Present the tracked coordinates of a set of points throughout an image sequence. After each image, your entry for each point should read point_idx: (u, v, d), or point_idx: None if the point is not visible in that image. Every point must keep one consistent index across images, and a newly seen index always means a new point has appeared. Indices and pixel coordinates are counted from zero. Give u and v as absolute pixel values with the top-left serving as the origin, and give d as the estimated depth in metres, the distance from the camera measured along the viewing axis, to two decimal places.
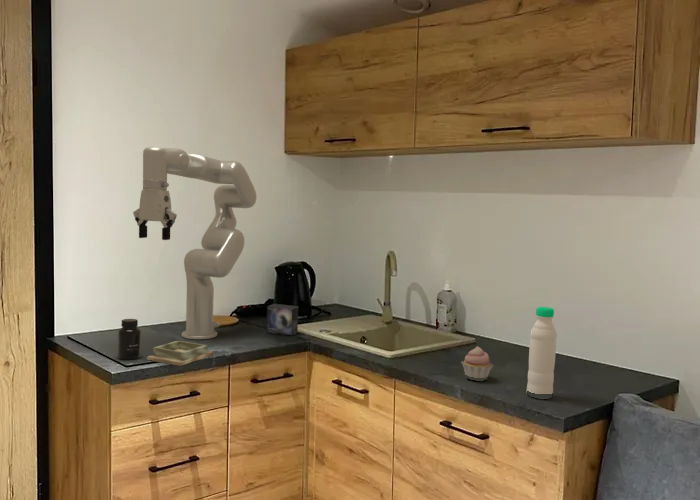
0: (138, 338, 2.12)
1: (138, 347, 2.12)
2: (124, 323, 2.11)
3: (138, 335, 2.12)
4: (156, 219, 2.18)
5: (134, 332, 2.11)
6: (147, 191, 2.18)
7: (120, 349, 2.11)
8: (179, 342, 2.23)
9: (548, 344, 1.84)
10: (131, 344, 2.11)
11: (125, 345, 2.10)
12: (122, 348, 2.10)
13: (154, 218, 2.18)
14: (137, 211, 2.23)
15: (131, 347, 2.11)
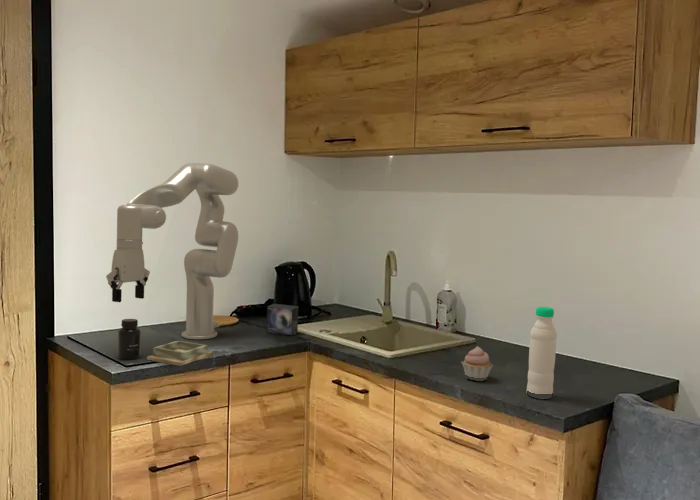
0: (138, 338, 2.12)
1: (138, 347, 2.12)
2: (124, 323, 2.11)
3: (138, 335, 2.12)
4: (139, 279, 2.13)
5: (134, 332, 2.11)
6: (133, 251, 2.09)
7: (120, 349, 2.11)
8: (179, 342, 2.23)
9: (548, 344, 1.84)
10: (131, 344, 2.11)
11: (125, 345, 2.10)
12: (122, 348, 2.10)
13: (138, 278, 2.12)
14: (113, 274, 2.05)
15: (131, 347, 2.11)
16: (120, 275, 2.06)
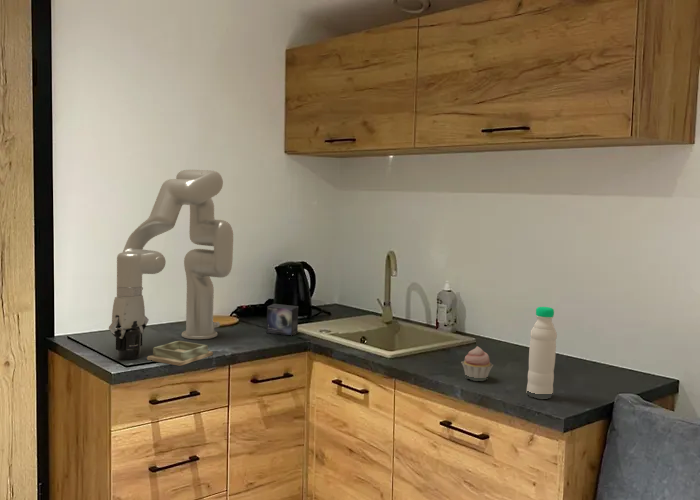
0: (138, 338, 2.12)
1: (138, 347, 2.12)
2: None
3: (138, 335, 2.12)
4: (140, 324, 2.14)
5: (134, 332, 2.11)
6: (133, 298, 2.10)
7: None
8: (179, 342, 2.23)
9: (548, 344, 1.84)
10: (131, 344, 2.11)
11: (125, 345, 2.10)
12: None
13: (138, 324, 2.14)
14: (115, 324, 2.07)
15: (131, 346, 2.11)
16: (121, 323, 2.08)
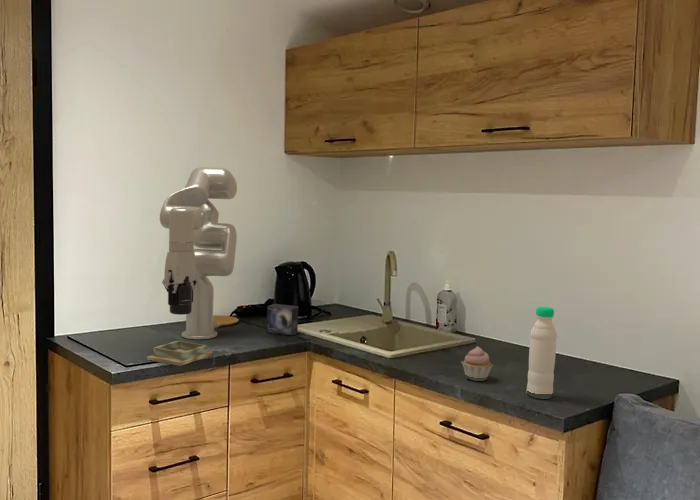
0: (190, 293, 2.13)
1: (189, 303, 2.14)
2: None
3: (190, 290, 2.13)
4: (191, 280, 2.16)
5: (186, 287, 2.12)
6: (185, 253, 2.11)
7: None
8: (179, 342, 2.23)
9: (548, 344, 1.84)
10: (183, 299, 2.12)
11: (177, 300, 2.11)
12: None
13: (189, 279, 2.15)
14: (168, 279, 2.08)
15: (184, 301, 2.12)
16: (173, 277, 2.09)
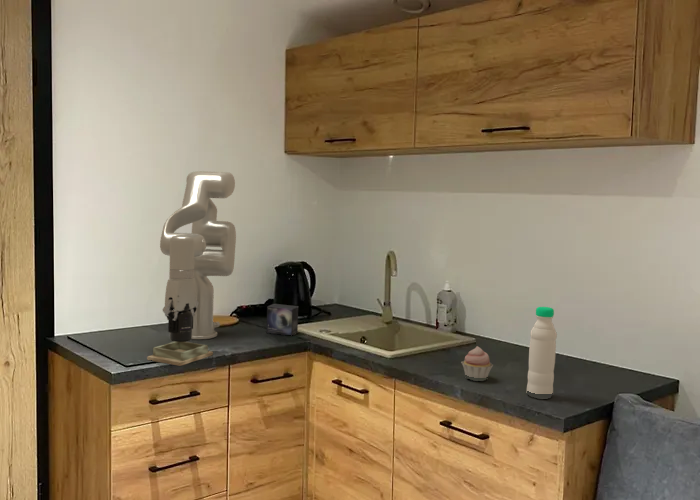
0: (190, 320, 2.14)
1: (190, 330, 2.14)
2: None
3: (190, 317, 2.14)
4: (191, 307, 2.16)
5: (187, 314, 2.13)
6: (186, 281, 2.12)
7: None
8: (179, 342, 2.23)
9: (548, 344, 1.84)
10: (183, 326, 2.12)
11: None
12: None
13: (190, 307, 2.15)
14: (169, 306, 2.09)
15: (184, 329, 2.12)
16: (174, 305, 2.10)
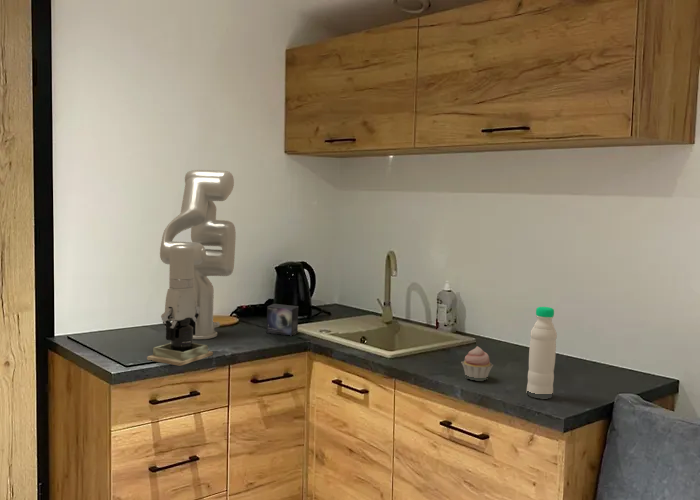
0: (191, 335, 2.15)
1: (190, 344, 2.15)
2: None
3: (191, 332, 2.15)
4: (191, 316, 2.17)
5: (187, 328, 2.14)
6: (186, 290, 2.12)
7: (173, 345, 2.14)
8: None
9: (548, 344, 1.84)
10: (184, 340, 2.13)
11: (178, 342, 2.13)
12: (175, 345, 2.13)
13: (190, 316, 2.16)
14: (168, 314, 2.09)
15: (185, 343, 2.13)
16: (174, 314, 2.10)
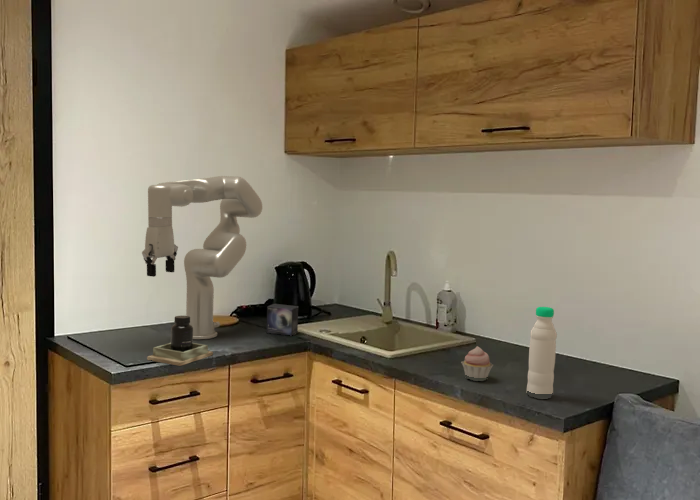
0: (191, 335, 2.15)
1: (190, 344, 2.15)
2: (177, 320, 2.14)
3: (191, 332, 2.15)
4: (170, 254, 2.26)
5: (187, 328, 2.14)
6: (165, 228, 2.22)
7: (173, 345, 2.14)
8: None
9: (548, 344, 1.84)
10: (184, 340, 2.13)
11: (178, 342, 2.13)
12: (175, 345, 2.13)
13: (169, 253, 2.26)
14: (148, 250, 2.18)
15: (185, 343, 2.13)
16: (154, 251, 2.19)
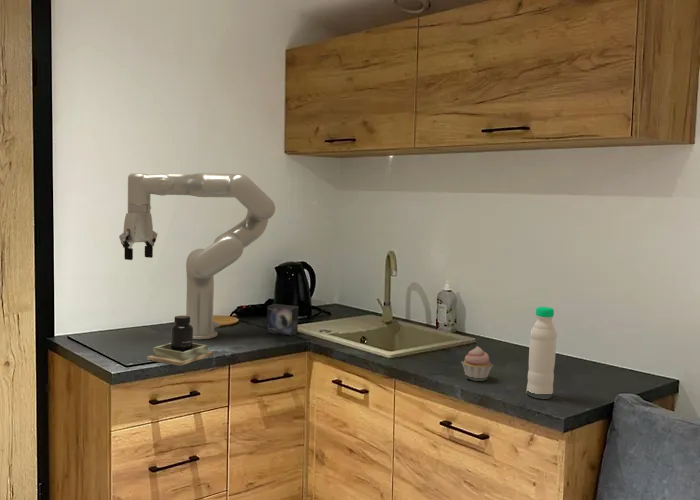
0: (191, 335, 2.15)
1: (190, 344, 2.15)
2: (177, 320, 2.14)
3: (191, 332, 2.15)
4: (148, 239, 2.38)
5: (187, 328, 2.14)
6: (142, 215, 2.34)
7: (173, 345, 2.14)
8: None
9: (548, 344, 1.84)
10: (184, 340, 2.13)
11: (178, 342, 2.13)
12: (175, 345, 2.13)
13: (147, 239, 2.37)
14: (125, 235, 2.30)
15: (185, 343, 2.13)
16: (131, 236, 2.31)
